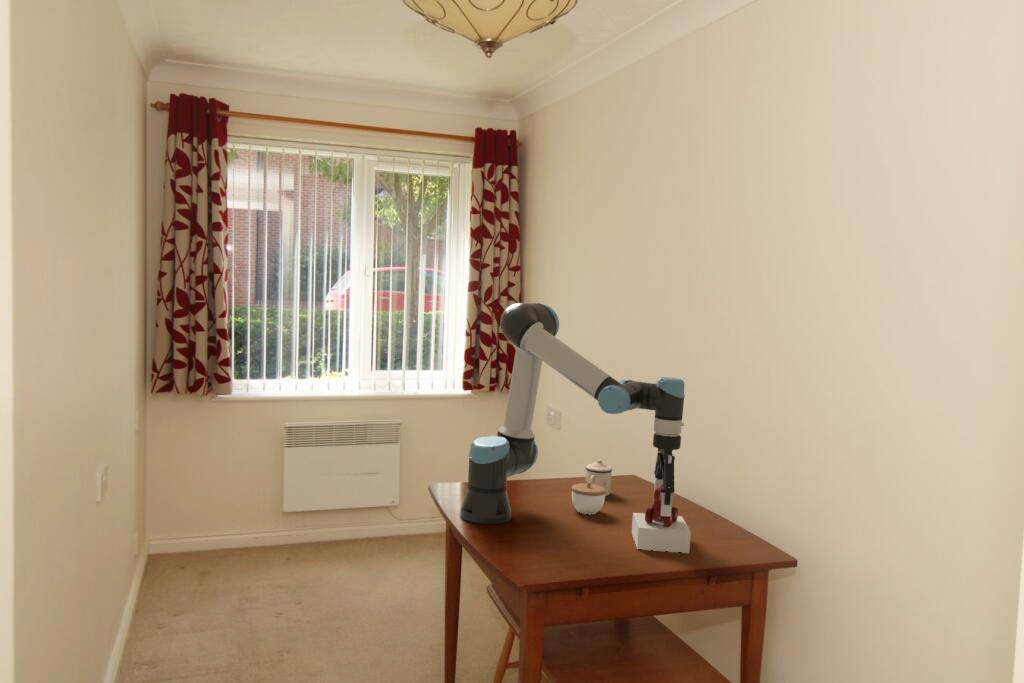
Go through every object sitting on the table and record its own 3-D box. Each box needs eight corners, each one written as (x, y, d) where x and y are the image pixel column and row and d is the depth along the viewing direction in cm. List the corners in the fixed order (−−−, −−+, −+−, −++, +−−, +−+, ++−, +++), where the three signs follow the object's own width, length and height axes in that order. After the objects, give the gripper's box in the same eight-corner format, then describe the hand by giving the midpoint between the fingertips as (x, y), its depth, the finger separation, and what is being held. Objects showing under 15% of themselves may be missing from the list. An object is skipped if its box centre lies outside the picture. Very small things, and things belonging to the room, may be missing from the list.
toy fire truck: (679, 518, 213) (682, 483, 212) (667, 530, 202) (669, 492, 202) (655, 514, 216) (658, 478, 216) (642, 524, 205) (644, 487, 205)
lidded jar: (603, 508, 240) (605, 479, 240) (604, 518, 230) (606, 488, 229) (570, 505, 241) (572, 477, 241) (569, 515, 231) (571, 485, 230)
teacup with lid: (589, 488, 265) (591, 455, 264) (614, 492, 261) (616, 459, 260) (576, 495, 254) (579, 461, 253) (602, 500, 250) (604, 465, 249)
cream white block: (637, 549, 203) (638, 527, 203) (631, 532, 217) (633, 512, 217) (689, 553, 202) (690, 531, 202) (680, 536, 216) (681, 516, 216)
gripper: (689, 443, 195) (683, 523, 197) (673, 426, 220) (668, 497, 221) (660, 441, 195) (654, 521, 197) (648, 424, 220) (642, 495, 222)
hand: (661, 508), depth 209 cm, fingers open, 13 cm apart
